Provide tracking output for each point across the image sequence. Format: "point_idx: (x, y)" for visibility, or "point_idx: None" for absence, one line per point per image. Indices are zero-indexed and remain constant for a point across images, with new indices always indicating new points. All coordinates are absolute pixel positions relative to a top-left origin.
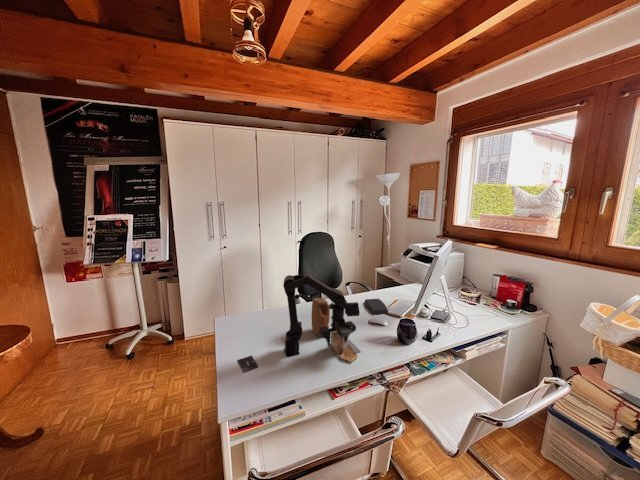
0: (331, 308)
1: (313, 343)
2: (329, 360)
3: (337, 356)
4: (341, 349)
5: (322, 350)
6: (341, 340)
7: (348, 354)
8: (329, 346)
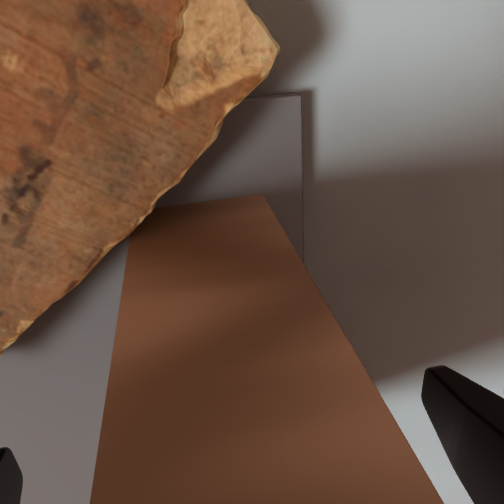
0: None
1: (451, 491)
2: (481, 83)
3: (299, 136)
4: (186, 248)
5: (431, 359)
6: (231, 496)
7: (33, 14)
8: (443, 371)
